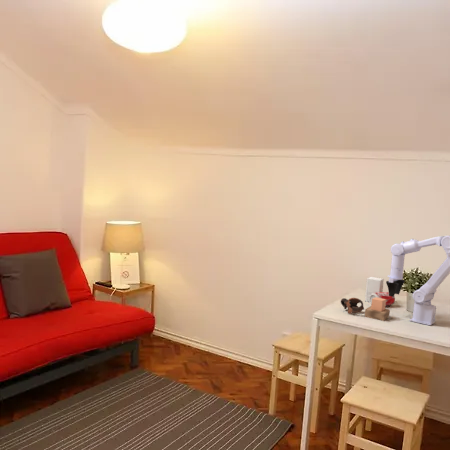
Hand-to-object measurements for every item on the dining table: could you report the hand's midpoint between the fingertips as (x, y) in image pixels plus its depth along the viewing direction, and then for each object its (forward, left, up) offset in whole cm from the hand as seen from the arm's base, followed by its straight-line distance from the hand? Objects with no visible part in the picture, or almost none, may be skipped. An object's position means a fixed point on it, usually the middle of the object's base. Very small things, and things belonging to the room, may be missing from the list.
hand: (394, 295), depth 234 cm
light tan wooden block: (+3, +12, -10) cm, 16 cm away
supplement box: (+16, -17, -10) cm, 25 cm away
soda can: (+13, -6, -6) cm, 15 cm away
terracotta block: (+3, +11, -6) cm, 13 cm away
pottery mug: (+15, +14, -10) cm, 23 cm away
